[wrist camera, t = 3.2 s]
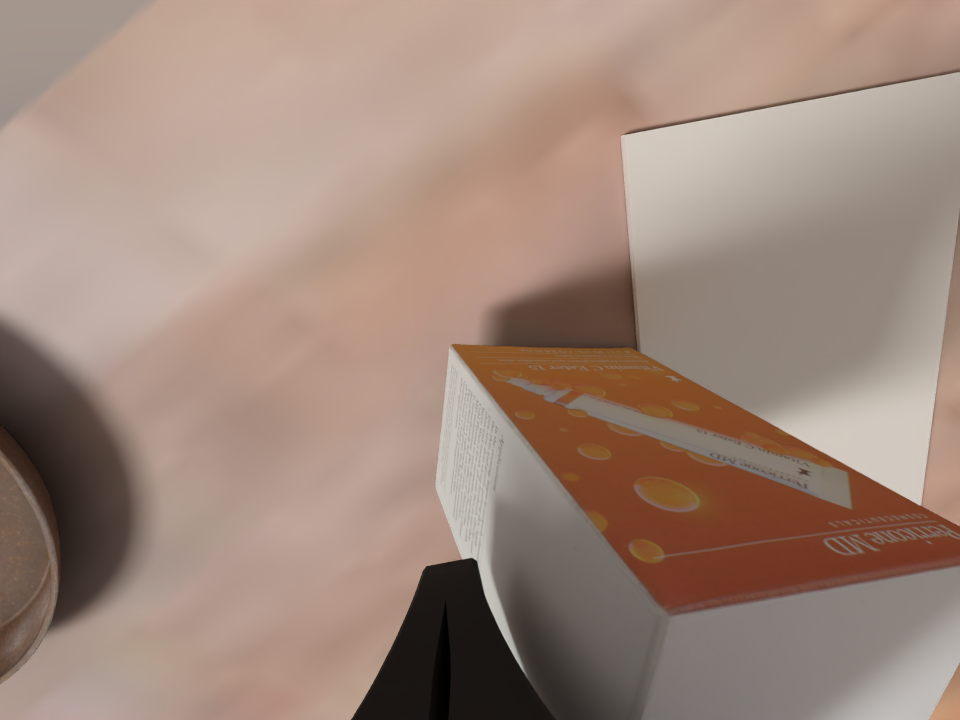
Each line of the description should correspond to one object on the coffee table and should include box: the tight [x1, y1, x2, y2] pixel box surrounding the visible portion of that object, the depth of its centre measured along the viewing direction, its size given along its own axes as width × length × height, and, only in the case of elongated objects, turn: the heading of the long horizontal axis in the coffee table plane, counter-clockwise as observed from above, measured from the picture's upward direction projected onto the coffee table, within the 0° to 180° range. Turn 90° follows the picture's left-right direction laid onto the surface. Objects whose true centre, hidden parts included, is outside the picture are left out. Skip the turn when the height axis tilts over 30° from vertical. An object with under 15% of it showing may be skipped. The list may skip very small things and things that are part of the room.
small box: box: [436, 344, 960, 720], centre depth 15 cm, size 8×6×13 cm
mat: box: [621, 72, 960, 506], centre depth 21 cm, size 20×13×1 cm, turn 10°
